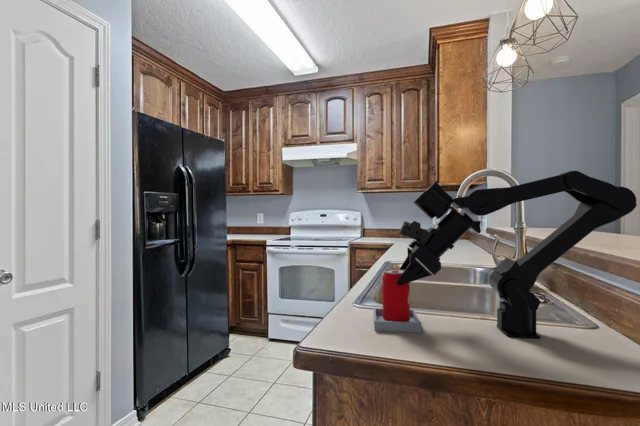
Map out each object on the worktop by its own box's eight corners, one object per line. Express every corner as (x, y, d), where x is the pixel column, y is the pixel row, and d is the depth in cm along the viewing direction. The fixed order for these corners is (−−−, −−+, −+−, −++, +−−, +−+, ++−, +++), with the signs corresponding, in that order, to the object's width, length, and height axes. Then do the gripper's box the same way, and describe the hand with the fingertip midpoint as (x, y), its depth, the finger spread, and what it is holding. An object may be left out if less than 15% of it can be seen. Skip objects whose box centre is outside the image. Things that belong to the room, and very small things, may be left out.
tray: (414, 317, 81) (414, 309, 81) (420, 332, 71) (420, 323, 71) (373, 316, 83) (373, 308, 83) (374, 330, 73) (374, 321, 73)
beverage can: (411, 319, 79) (411, 269, 79) (407, 327, 73) (407, 274, 73) (385, 315, 81) (385, 267, 81) (380, 323, 75) (379, 272, 75)
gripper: (417, 209, 85) (374, 250, 87) (423, 208, 67) (369, 261, 69) (449, 239, 83) (405, 281, 86) (465, 247, 65) (408, 300, 67)
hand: (397, 279), depth 77 cm, fingers open, 9 cm apart
